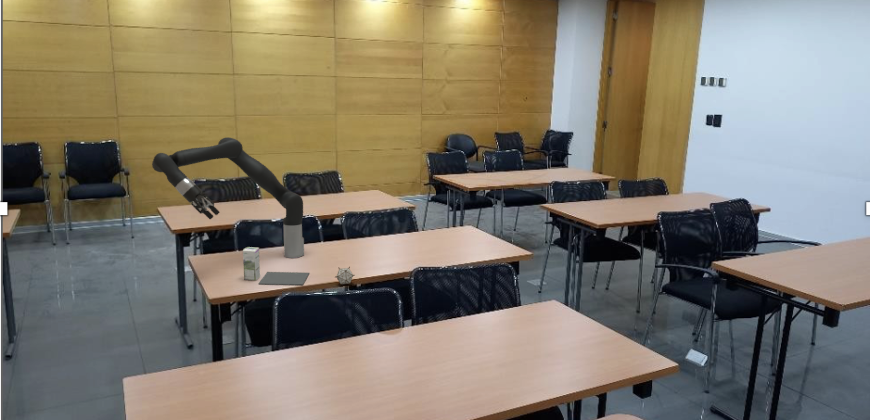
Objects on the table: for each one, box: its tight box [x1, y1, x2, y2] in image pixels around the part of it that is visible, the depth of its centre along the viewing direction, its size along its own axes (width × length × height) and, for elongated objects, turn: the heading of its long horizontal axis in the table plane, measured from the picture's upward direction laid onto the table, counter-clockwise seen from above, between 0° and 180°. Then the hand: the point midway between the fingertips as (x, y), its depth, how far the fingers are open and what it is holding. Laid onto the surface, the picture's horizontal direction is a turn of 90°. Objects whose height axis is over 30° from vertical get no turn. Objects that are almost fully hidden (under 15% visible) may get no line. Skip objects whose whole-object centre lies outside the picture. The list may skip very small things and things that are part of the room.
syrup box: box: [242, 246, 261, 281], centre depth 287 cm, size 6×6×14 cm
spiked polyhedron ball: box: [334, 266, 356, 287], centre depth 284 cm, size 9×8×10 cm
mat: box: [258, 271, 310, 287], centre depth 289 cm, size 20×16×1 cm
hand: (215, 215), depth 282 cm, fingers open, 8 cm apart
